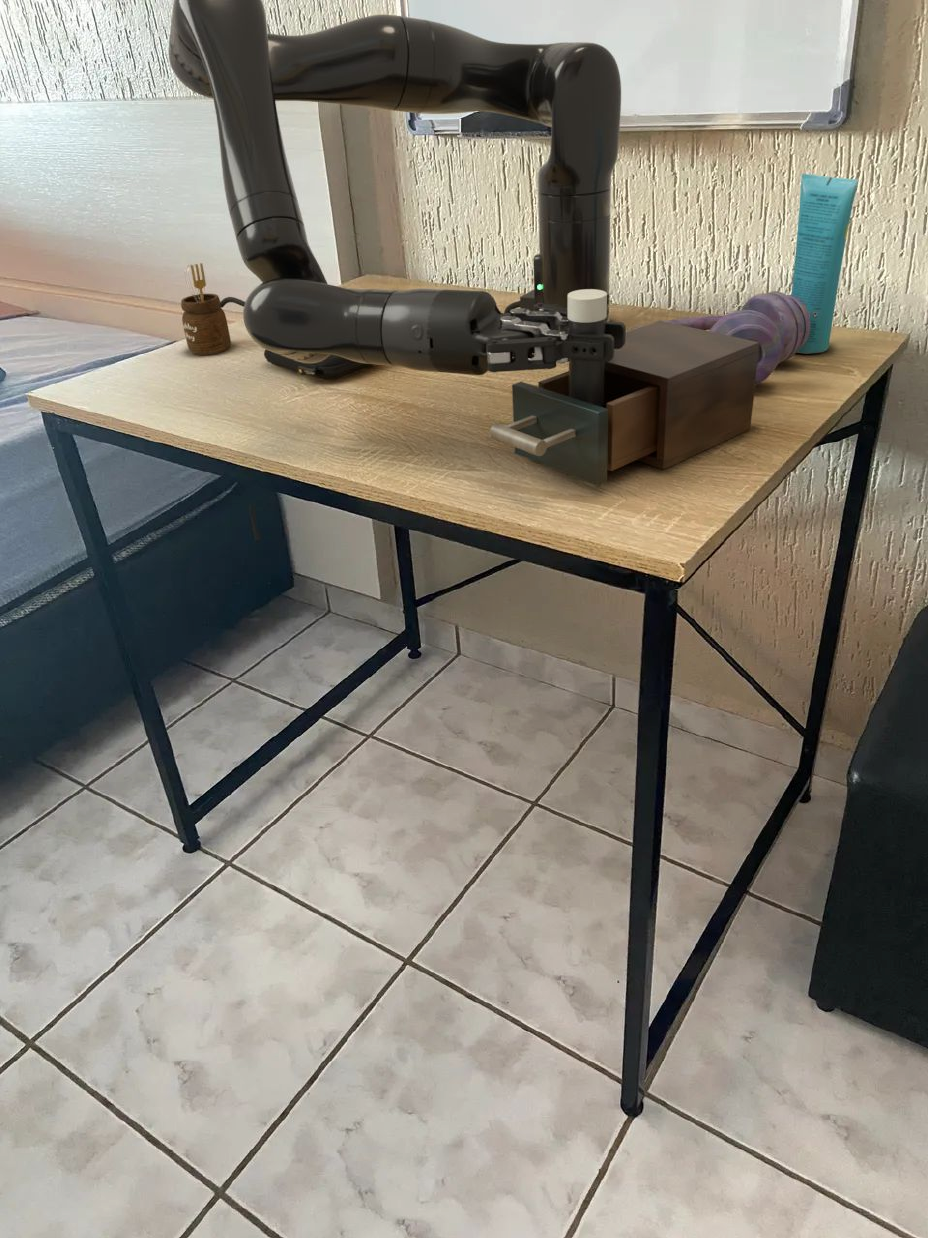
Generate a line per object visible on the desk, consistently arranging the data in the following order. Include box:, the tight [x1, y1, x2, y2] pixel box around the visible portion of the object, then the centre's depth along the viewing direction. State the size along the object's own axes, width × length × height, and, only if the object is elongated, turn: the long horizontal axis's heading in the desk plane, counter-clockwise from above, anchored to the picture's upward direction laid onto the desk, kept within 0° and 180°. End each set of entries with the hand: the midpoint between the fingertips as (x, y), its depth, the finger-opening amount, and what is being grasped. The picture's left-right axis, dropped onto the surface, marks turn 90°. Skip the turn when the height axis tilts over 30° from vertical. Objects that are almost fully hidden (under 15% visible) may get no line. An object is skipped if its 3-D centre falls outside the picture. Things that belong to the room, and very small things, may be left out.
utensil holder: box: [180, 262, 232, 356], centre depth 128 cm, size 6×6×12 cm
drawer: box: [489, 370, 660, 487], centre depth 88 cm, size 17×11×7 cm, turn 130°
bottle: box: [568, 289, 607, 407], centre depth 84 cm, size 3×3×10 cm
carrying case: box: [263, 348, 376, 381], centre depth 121 cm, size 11×3×15 cm
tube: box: [791, 173, 860, 355], centre depth 109 cm, size 7×5×19 cm, turn 39°
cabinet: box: [604, 320, 759, 470], centre depth 93 cm, size 13×12×9 cm
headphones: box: [631, 290, 811, 386], centre depth 109 cm, size 18×8×20 cm
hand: (617, 342), depth 83 cm, fingers closed on bottle, 3 cm apart
